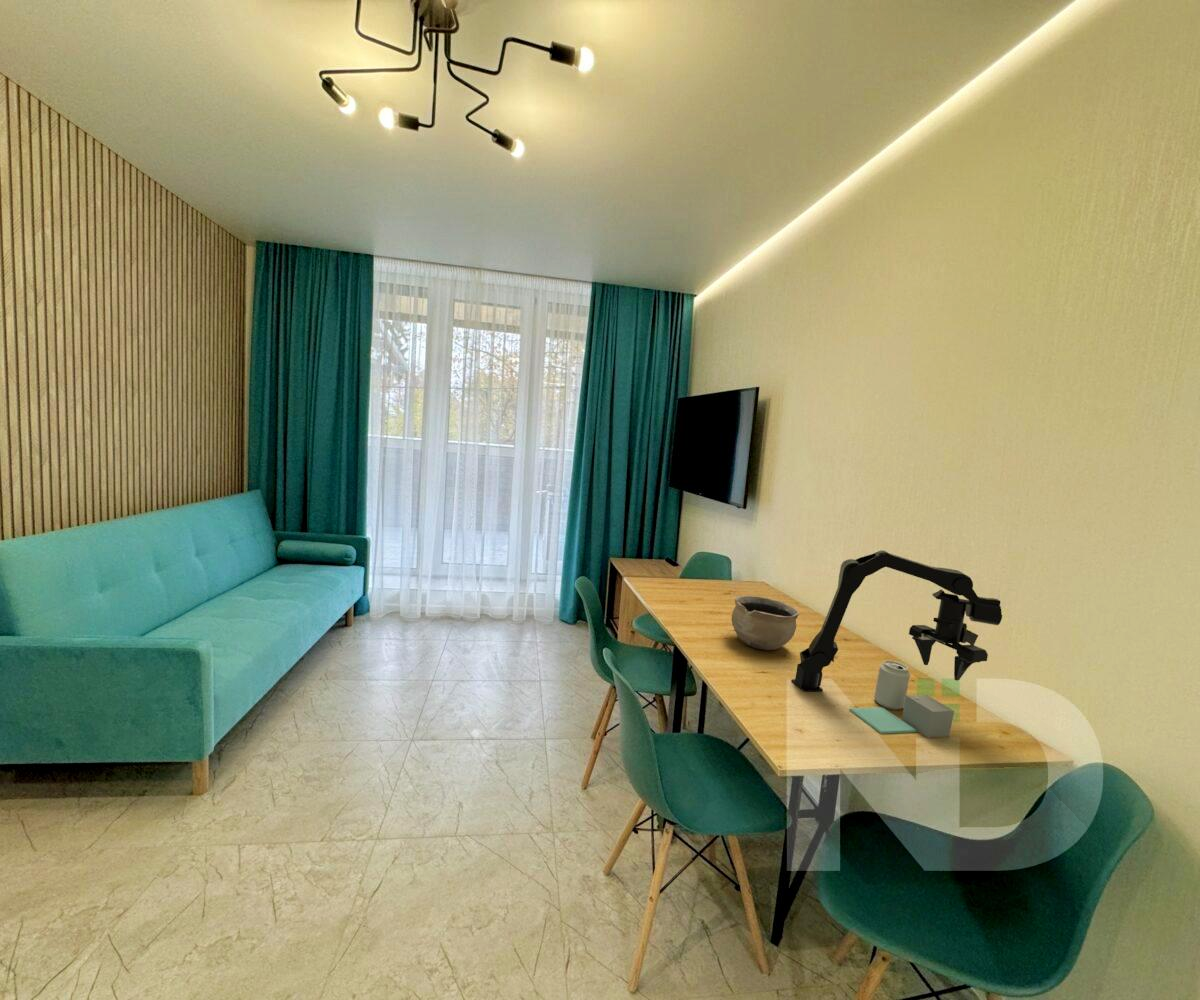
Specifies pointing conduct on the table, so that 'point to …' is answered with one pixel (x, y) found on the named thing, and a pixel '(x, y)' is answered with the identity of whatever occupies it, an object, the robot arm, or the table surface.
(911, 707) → the unit
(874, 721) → the mat
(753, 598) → the ceramic bowl
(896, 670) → the can
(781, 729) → the table surface
